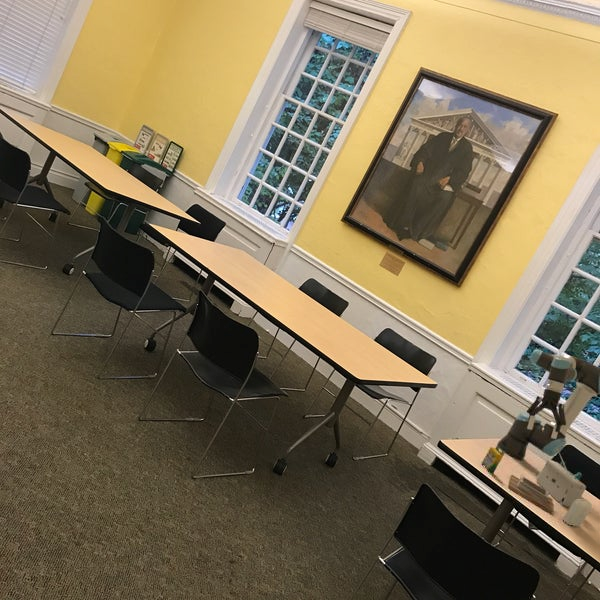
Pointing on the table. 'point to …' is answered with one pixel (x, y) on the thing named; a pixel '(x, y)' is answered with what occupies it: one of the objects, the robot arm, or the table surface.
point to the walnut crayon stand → (531, 492)
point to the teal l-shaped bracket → (571, 473)
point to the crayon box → (493, 459)
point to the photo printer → (577, 512)
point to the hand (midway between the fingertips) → (541, 433)
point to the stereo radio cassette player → (560, 483)
